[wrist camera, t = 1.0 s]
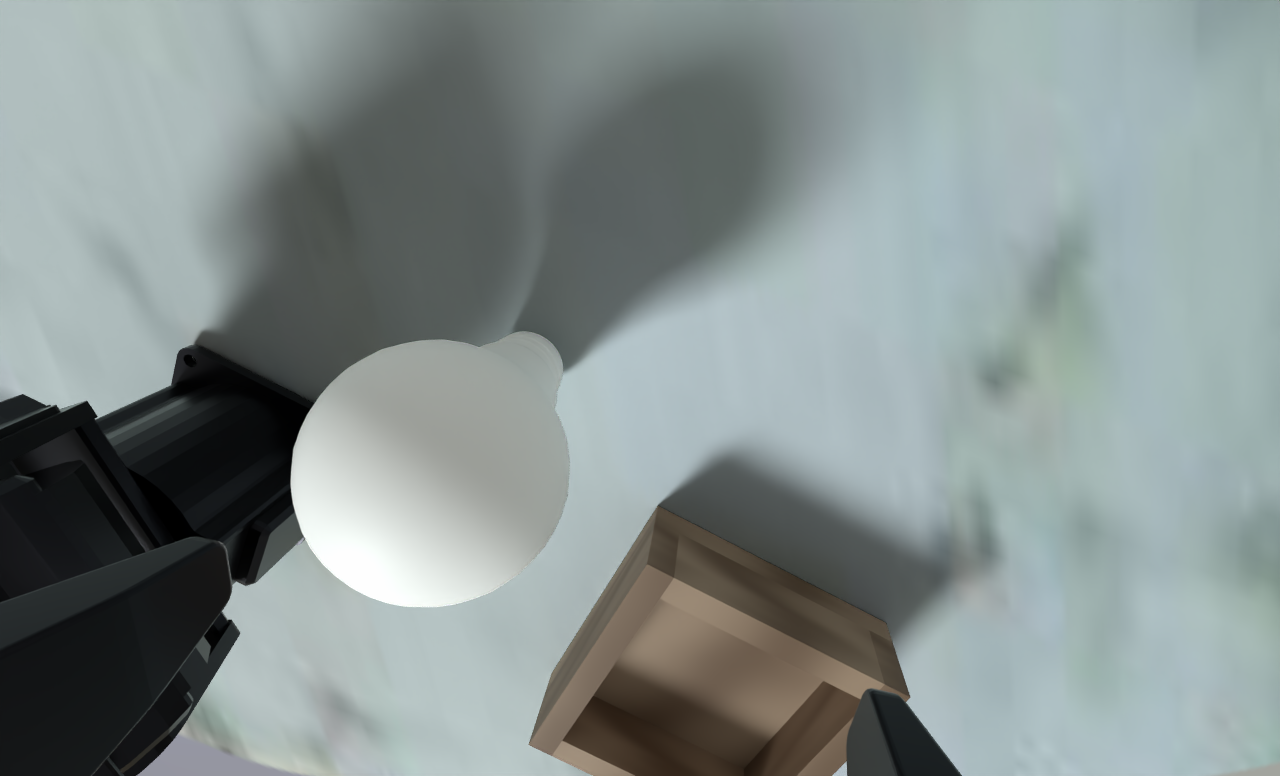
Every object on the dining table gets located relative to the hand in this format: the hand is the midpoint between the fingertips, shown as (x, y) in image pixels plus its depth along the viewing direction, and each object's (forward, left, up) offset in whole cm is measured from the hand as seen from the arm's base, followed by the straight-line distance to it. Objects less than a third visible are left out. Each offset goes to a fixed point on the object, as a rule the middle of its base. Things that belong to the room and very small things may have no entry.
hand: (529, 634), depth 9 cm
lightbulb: (-3, -3, -14) cm, 14 cm away
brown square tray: (+8, -11, -14) cm, 19 cm away
